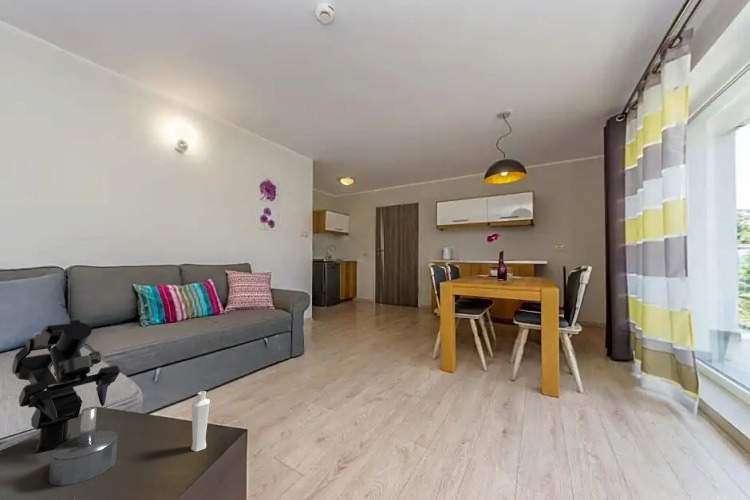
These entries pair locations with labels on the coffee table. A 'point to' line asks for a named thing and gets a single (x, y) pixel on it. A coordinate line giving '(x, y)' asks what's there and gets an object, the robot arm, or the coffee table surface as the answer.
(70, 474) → the grey stemmed oval block
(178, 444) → the coffee table surface
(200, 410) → the perfume bottle
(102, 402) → the robot arm
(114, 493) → the coffee table surface
